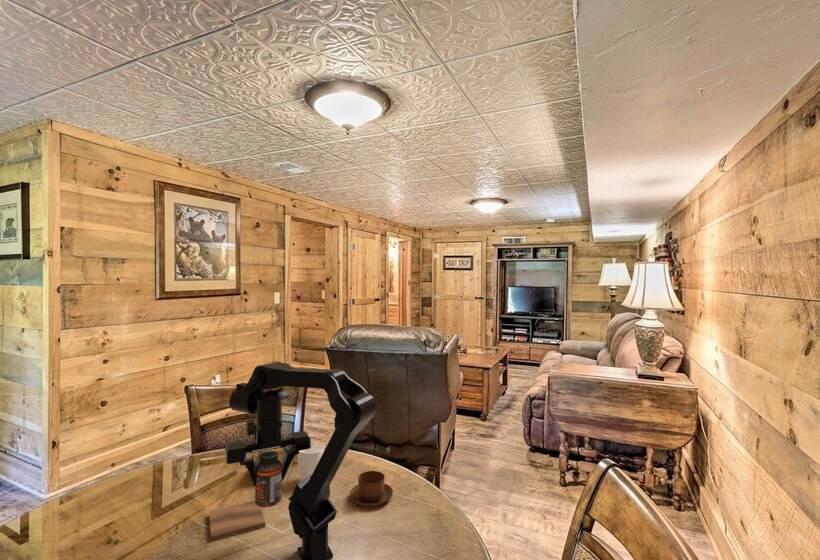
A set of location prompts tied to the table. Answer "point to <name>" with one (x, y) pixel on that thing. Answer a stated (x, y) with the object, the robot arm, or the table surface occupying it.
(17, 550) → the table surface
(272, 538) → the table surface
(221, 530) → the walnut base
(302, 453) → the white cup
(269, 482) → the supplement bottle
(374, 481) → the cup and saucer
